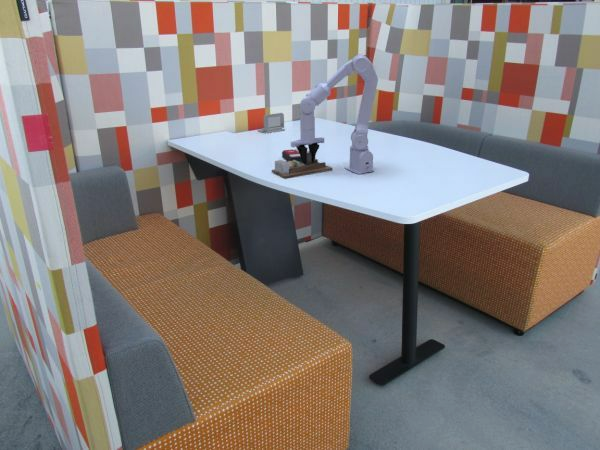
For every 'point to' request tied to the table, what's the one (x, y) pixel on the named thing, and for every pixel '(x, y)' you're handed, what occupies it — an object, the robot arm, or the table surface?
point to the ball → (291, 164)
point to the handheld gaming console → (273, 123)
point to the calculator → (291, 155)
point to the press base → (305, 170)
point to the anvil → (282, 167)
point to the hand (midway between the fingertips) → (307, 162)
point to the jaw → (308, 160)
